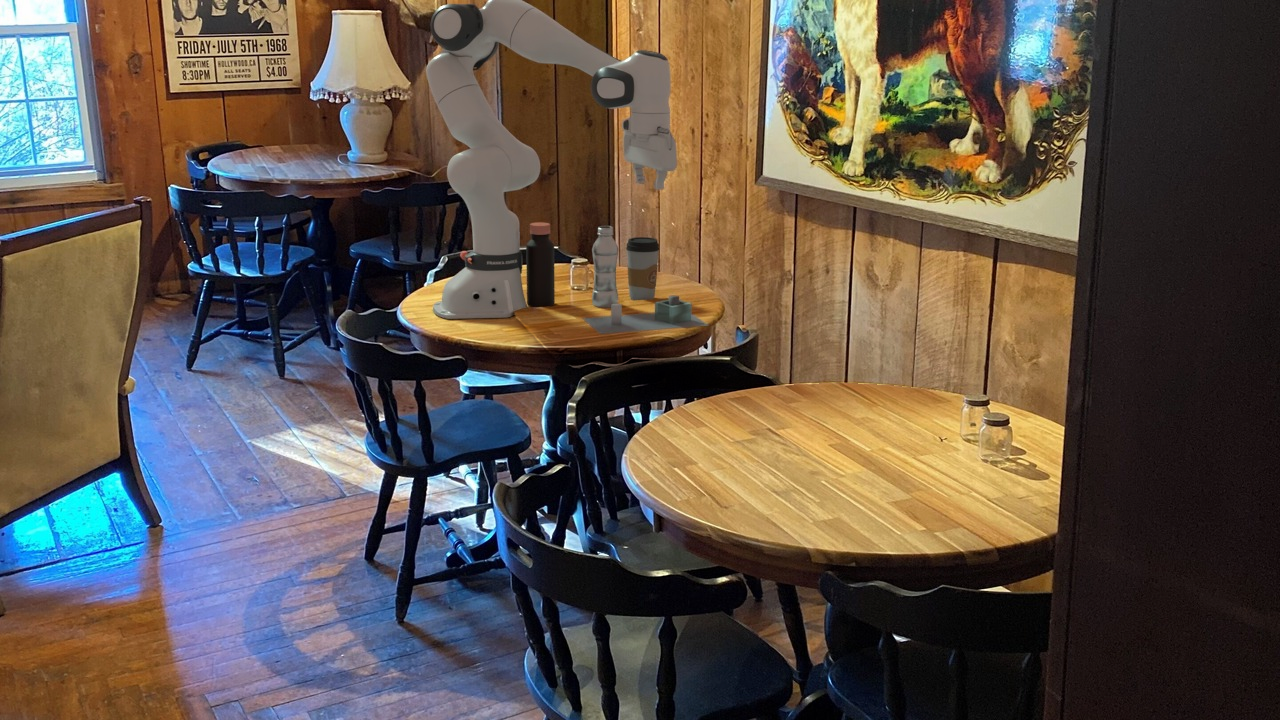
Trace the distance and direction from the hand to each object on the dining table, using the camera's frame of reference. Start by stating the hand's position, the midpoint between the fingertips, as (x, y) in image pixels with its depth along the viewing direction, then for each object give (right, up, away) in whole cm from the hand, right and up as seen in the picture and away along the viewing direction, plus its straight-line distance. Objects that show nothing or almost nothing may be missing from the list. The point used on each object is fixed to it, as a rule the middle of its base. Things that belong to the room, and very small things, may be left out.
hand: (649, 186), depth 270 cm
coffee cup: (-2, -25, +27) cm, 36 cm away
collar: (+6, -30, +4) cm, 31 cm away
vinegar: (-27, -26, +20) cm, 42 cm away
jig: (-1, -32, +2) cm, 32 cm away
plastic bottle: (-11, -27, +17) cm, 34 cm away
